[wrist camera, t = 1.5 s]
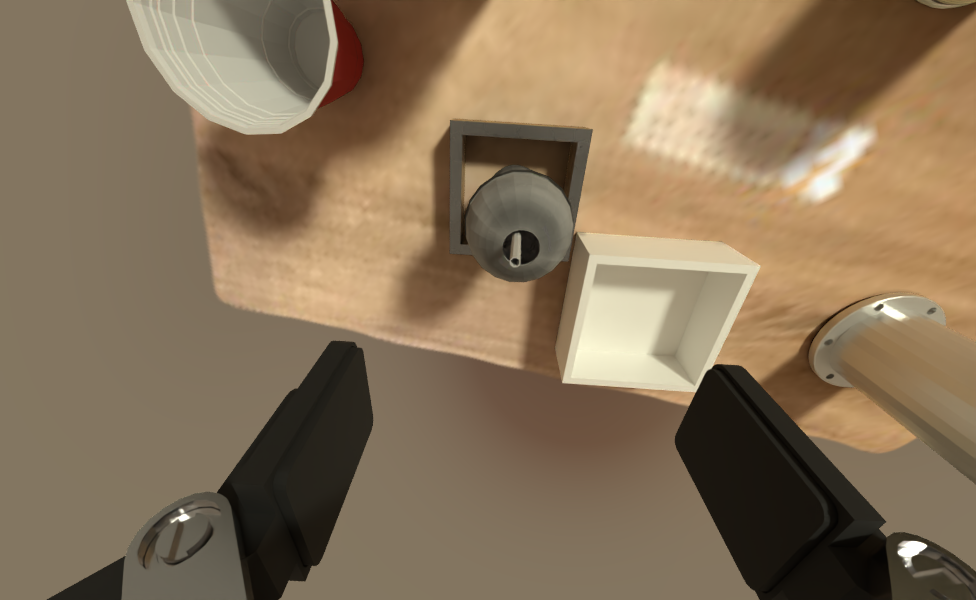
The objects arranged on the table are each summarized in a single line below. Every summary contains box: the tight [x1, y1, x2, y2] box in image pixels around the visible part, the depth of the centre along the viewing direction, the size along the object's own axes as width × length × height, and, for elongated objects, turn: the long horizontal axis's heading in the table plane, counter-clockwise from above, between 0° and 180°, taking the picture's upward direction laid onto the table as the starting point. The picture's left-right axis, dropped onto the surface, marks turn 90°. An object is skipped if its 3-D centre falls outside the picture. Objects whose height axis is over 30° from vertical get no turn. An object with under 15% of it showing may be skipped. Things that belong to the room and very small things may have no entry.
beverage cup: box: [464, 165, 574, 282], centre depth 24 cm, size 7×7×20 cm
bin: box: [555, 232, 761, 392], centre depth 36 cm, size 15×15×6 cm
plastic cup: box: [126, 0, 364, 135], centre depth 23 cm, size 11×11×12 cm
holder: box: [450, 119, 593, 262], centre depth 32 cm, size 11×11×3 cm
